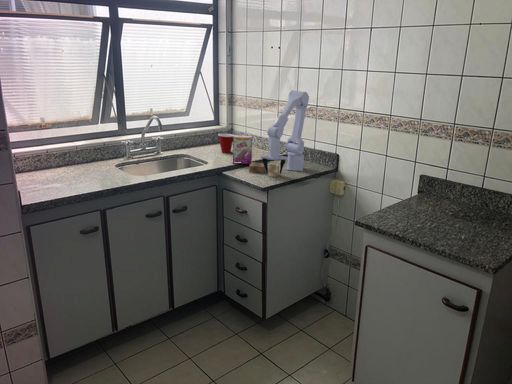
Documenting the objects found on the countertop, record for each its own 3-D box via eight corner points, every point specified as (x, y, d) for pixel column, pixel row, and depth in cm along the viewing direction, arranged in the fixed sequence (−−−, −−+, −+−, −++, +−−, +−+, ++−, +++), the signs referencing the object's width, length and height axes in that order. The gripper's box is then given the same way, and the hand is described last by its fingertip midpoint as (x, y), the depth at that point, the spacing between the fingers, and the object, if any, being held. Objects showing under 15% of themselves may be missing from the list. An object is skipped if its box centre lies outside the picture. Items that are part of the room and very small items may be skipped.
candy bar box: (232, 163, 248) (232, 136, 242) (233, 161, 252) (234, 135, 247) (251, 164, 247) (251, 137, 241) (252, 162, 251) (252, 135, 246)
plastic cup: (237, 151, 274) (237, 133, 270) (228, 155, 266) (228, 136, 262) (224, 149, 280) (224, 131, 276) (214, 152, 271) (214, 134, 267)
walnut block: (265, 169, 239) (265, 163, 238) (262, 173, 232) (263, 166, 230) (252, 168, 240) (252, 161, 239) (249, 172, 233) (249, 165, 232)
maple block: (278, 174, 230) (278, 164, 228) (277, 177, 225) (278, 166, 223) (269, 173, 231) (269, 163, 229) (268, 176, 226) (268, 166, 224)
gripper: (260, 149, 220) (259, 173, 225) (287, 151, 218) (286, 175, 223) (262, 146, 227) (261, 170, 231) (288, 148, 225) (287, 171, 229)
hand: (273, 172), depth 228 cm, fingers open, 7 cm apart
